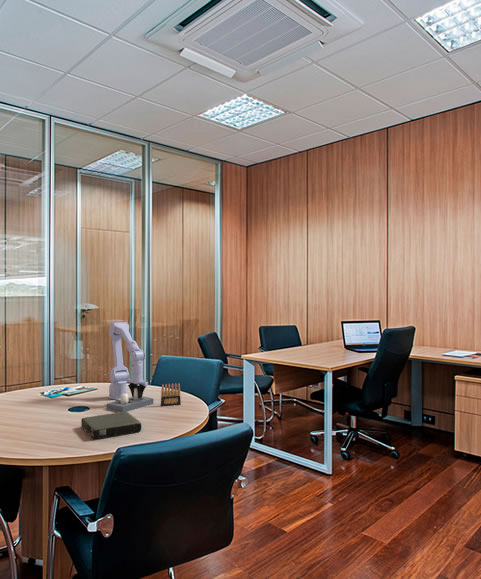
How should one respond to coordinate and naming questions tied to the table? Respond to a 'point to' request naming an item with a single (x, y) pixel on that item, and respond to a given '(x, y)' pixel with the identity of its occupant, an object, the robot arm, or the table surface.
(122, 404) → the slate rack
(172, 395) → the ammunition clip
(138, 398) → the white rounded egg shape
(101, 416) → the network switch
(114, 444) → the table surface
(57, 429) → the table surface
